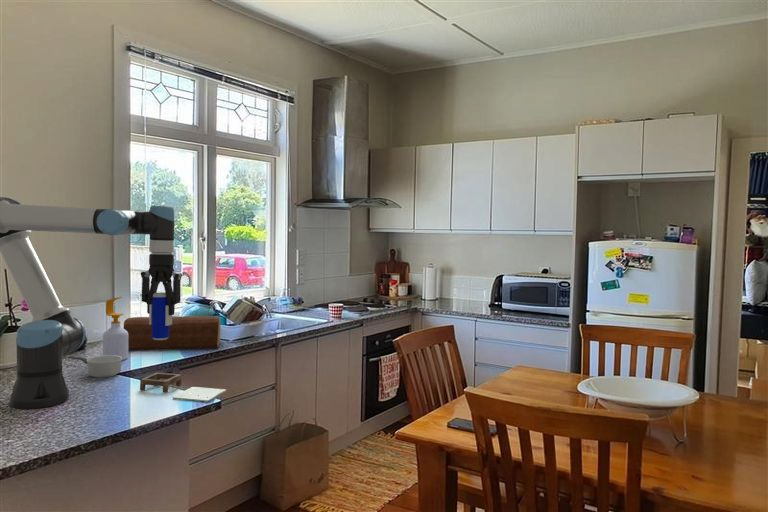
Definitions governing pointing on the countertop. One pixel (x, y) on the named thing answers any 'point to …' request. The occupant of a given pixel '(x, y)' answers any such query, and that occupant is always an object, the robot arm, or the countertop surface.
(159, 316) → the beverage can
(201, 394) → the coaster
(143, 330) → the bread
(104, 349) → the soap bottle
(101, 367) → the saucepan
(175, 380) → the brown square stand
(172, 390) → the countertop surface
